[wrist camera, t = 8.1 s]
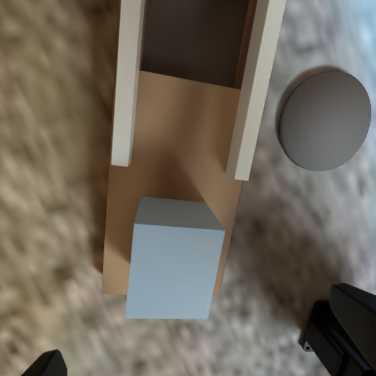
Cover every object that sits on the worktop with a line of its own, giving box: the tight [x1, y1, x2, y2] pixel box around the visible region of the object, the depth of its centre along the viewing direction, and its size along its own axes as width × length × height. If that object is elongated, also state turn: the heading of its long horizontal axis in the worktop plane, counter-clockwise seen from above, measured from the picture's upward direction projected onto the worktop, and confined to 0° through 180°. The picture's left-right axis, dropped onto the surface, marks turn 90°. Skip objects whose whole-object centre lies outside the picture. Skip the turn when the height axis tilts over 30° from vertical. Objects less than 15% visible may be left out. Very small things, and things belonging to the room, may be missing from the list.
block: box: [125, 196, 225, 319], centre depth 15 cm, size 5×6×5 cm
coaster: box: [279, 71, 371, 171], centre depth 19 cm, size 8×8×1 cm
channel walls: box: [111, 0, 286, 181], centre depth 14 cm, size 9×14×2 cm, turn 172°
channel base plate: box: [102, 0, 257, 297], centre depth 17 cm, size 10×25×2 cm, turn 172°
